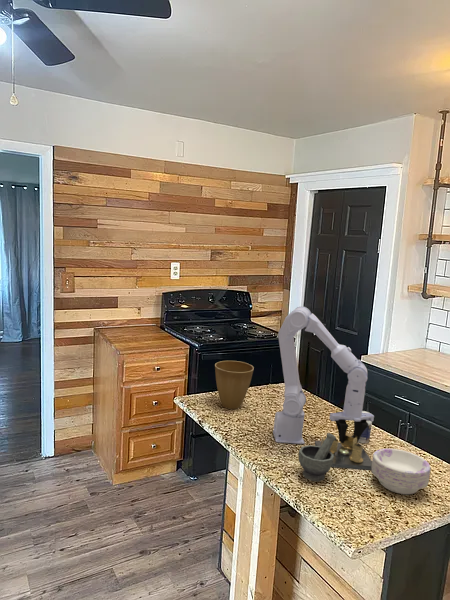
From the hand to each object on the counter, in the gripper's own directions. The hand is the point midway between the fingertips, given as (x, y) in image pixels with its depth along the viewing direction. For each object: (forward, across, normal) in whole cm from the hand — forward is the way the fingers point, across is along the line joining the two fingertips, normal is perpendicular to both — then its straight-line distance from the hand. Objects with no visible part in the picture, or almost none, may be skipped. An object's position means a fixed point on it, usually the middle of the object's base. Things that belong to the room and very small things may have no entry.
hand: (348, 441), depth 150 cm
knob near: (+2, -2, -9) cm, 9 cm away
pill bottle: (+3, +9, +8) cm, 12 cm away
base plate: (+3, -3, -4) cm, 6 cm away
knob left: (+2, -8, -3) cm, 9 cm away
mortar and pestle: (+3, -17, -14) cm, 23 cm away
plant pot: (+3, -30, +38) cm, 49 cm away
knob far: (+2, 0, 0) cm, 2 cm away
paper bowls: (+3, +5, -21) cm, 22 cm away
